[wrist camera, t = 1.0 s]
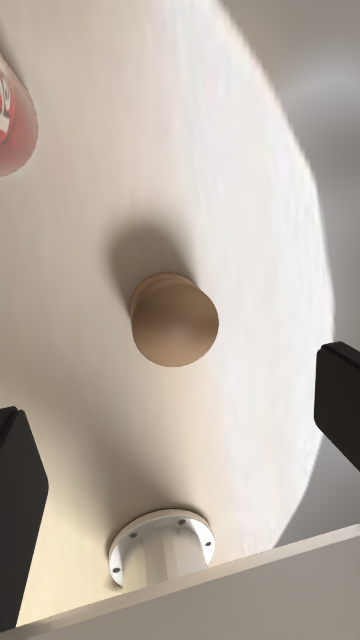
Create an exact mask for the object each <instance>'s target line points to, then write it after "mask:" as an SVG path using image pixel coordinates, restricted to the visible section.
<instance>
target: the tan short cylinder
mask: <svg viewBox="0 0 360 640" xmlns="http://www.w3.org/2000/svg"><path fill="white" fill-rule="evenodd" d="M130 317H131V324H132V332H133V338H134V341H135V344H136V346H137V348H138V349H139V351H140V352H141V353H142V354H143V355H144V356H145V357H146V358H147V359H148V360H150V361H152V362H153V363H155V364H158V365H161V366H166V367H179V366H184V365H188V364H190V363H193V362H195V361H196V360H198V359H199V358H201V357H202V356H203V355H204V354H206V352H207V351H208V350H209V349H210V348H211V346H212V345H213V343H214V341H215V339H216V336H217V333H218V327H219V319H218V314H217V310H216V308H215V306H214V304H213V302H212V301H211V300H210V298H209V297H208V296H207V295H206V294H205V293H204V292H202V291H201V290H200V289H199V288H198V287H197V286H196V285H195V284H194V283H193V282H192V281H190V280H189V279H188V278H186V277H185V276H182V275H180V274H177V273H172V272H164V273H158V274H155V275H152V276H150V277H148V278H147V279H145V280H144V281H143V282H142V283H141V284H140V285H139V286H138V287H137V288H136V290H135V291H134V293H133V296H132V298H131V302H130Z"/></svg>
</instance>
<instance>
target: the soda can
mask: <svg viewBox="0 0 360 640" xmlns="http://www.w3.org/2000/svg"><path fill="white" fill-rule="evenodd" d="M37 138H38V123H37V115H36V111H35V108H34V105H33V102H32V100H31V98H30V96H29V94H28V92H27V90H26V88H25V87H24V86H23V84H22V83H21V81H20V80H19V79H18V77H17V76H16V74H15V73H14V72H13V70H12V69H11V67H10V66H9V65H8V63H7V62H6V61H5V59H4V58H3V56H2V55H1V54H0V177H2V176H7V175H9V174H11V173H13V172H16V171H17V170H18V169H20V168H21V167H22V166H24V165H25V163H26V162H27V161H28V160H29V158H30V157H31V155H32V153H33V151H34V149H35V146H36V142H37Z"/></svg>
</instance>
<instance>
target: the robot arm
mask: <svg viewBox="0 0 360 640" xmlns="http://www.w3.org/2000/svg"><path fill="white" fill-rule="evenodd" d="M314 421H315V423H316V425H317V427H318V428H319V429H320V430H321V431H322V432H323V433H324V434H325V435H326V436H327V438H328V439H329V440H331V442H332V443H333V444H334V445H335V446H336V447H337V448H338V449H339V450H340V451H341V452H342V453H343V455H344V456H345V457H346V458H347V459H348V460H349V461H350V462H351V463H352V464H353V465H354V466H355V467H356V468H357V469H358V470H359V471H360V352H359V351H358V350H356V349H354V348H352V347H350V346H349V345H347V344H345V343H343V342H341V341H340V342H333V343H328V344H324V345H322V346H321V348H320V350H318V352H317V358H316V379H315V400H314ZM48 489H49V485H48V479H47V476H46V473H45V470H44V467H43V464H42V461H41V458H40V455H39V452H38V449H37V446H36V443H35V441H34V438H33V435H32V432H31V429H30V426H29V423H28V420H27V417H26V414H25V412H24V411H23V410H18V409H17V408H16V407H15V406H12V407H7V408H2V409H0V640H360V524H356V525H353V526H349V527H346V528H342V529H339V530H336V531H332V532H329V533H325V534H322V535H319V536H315V537H312V538H309V539H305V540H302V541H298V542H295V543H291V544H288V545H285V546H281V547H278V548H274V549H271V550H268V551H264V552H261V553H258V554H254V555H251V556H248V557H244V558H241V559H237V560H234V561H231V562H227V563H224V564H221V565H217V566H214V567H211V568H208V565H207V564H208V563H209V561H210V559H211V557H212V555H213V551H214V547H215V546H214V537H213V534H212V530H211V528H210V526H209V524H208V523H207V522H206V521H205V520H204V518H202V517H201V516H199V515H198V514H195V513H193V512H190V511H186V510H181V509H167V510H159V511H156V512H152V513H149V514H146V515H144V516H141V517H139V518H138V519H136V520H134V521H133V522H131V523H130V524H128V525H127V526H126V527H125V528H123V529H122V530H121V532H120V533H119V534H118V535H117V536H116V538H115V539H114V541H113V543H112V544H111V547H110V550H109V562H108V563H109V571H110V574H111V576H112V578H113V579H114V580H115V582H116V583H118V584H119V585H120V586H122V587H123V594H121V595H118V596H115V597H111V598H108V599H105V600H102V601H98V602H95V603H92V604H88V605H85V606H82V607H78V608H75V609H72V610H69V611H66V612H63V613H60V614H57V615H54V616H51V617H47V618H44V619H41V620H38V621H35V622H32V623H29V624H26V625H23V626H20V627H17V628H15V627H16V624H17V619H18V615H19V611H20V607H21V603H22V599H23V595H24V590H25V586H26V582H27V578H28V574H29V570H30V566H31V561H32V557H33V553H34V549H35V545H36V541H37V537H38V532H39V528H40V524H41V520H42V516H43V512H44V508H45V503H46V499H47V495H48Z"/></svg>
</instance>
